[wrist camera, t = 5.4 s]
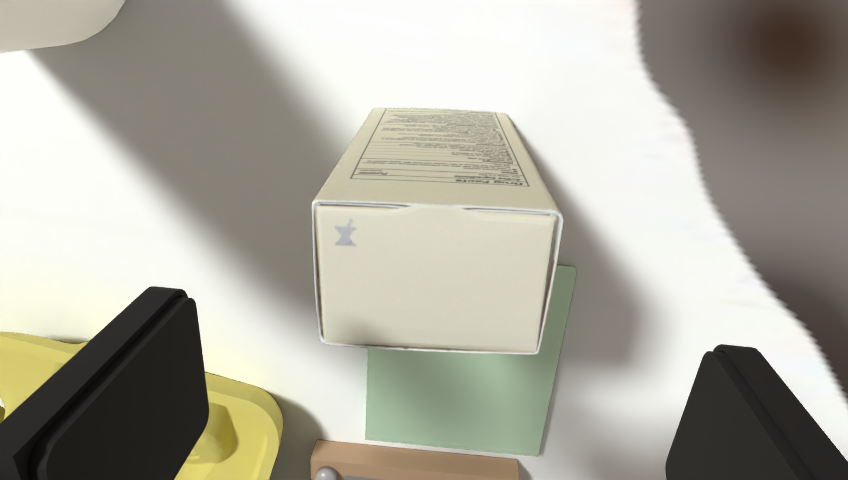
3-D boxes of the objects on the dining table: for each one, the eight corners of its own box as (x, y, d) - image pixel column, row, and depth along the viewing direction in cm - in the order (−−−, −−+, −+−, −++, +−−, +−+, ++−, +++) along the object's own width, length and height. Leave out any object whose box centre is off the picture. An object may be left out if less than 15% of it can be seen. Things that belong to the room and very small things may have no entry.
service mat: (367, 432, 32) (365, 439, 31) (373, 248, 27) (371, 253, 26) (536, 448, 32) (538, 456, 31) (574, 266, 27) (577, 272, 26)
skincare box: (371, 196, 26) (304, 348, 15) (371, 104, 24) (294, 197, 13) (506, 204, 26) (543, 365, 14) (517, 111, 24) (567, 213, 13)
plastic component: (291, 411, 29) (231, 594, 28) (300, 374, 36) (252, 519, 36) (-119, 302, 26) (-192, 507, 25) (-18, 286, 33) (-74, 444, 32)
